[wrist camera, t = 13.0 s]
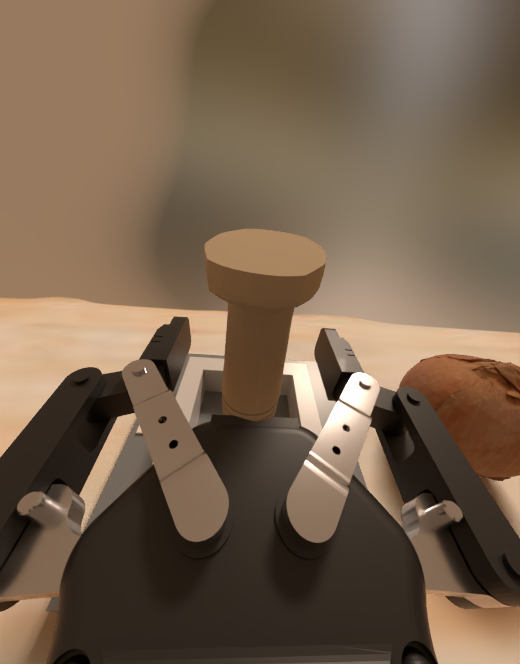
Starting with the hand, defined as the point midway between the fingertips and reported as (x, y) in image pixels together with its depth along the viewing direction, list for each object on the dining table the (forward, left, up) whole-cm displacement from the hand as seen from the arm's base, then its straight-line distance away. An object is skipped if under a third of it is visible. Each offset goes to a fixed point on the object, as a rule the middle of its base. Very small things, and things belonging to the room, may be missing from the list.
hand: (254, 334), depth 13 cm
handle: (0, +1, -10) cm, 10 cm away
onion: (-18, 0, -11) cm, 21 cm away
